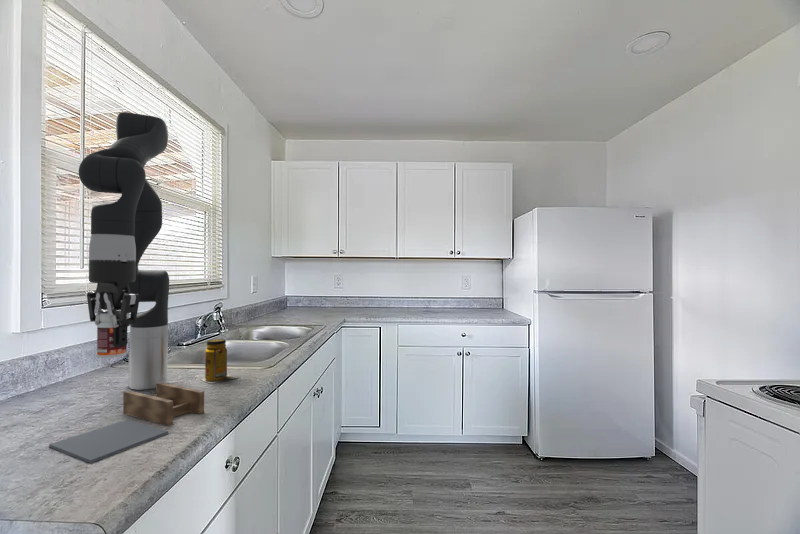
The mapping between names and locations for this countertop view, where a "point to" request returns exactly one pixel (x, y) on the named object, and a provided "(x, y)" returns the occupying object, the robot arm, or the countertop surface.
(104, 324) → the pill bottle
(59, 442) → the mat
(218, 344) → the condiment
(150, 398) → the wooden rack
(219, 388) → the countertop surface
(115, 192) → the robot arm
